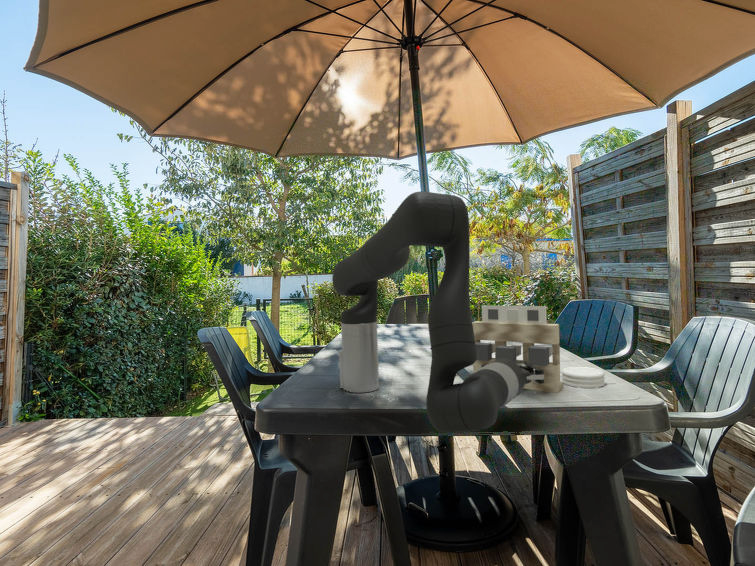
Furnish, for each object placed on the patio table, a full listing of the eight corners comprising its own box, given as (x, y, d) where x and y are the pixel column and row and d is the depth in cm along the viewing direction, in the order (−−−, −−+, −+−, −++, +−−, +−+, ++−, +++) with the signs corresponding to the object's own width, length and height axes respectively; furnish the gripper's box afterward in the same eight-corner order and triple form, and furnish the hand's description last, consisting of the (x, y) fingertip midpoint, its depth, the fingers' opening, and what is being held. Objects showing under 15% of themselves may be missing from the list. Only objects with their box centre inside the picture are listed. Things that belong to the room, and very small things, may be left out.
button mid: (496, 364, 109) (495, 347, 109) (509, 356, 117) (508, 341, 117) (512, 365, 107) (512, 348, 107) (525, 358, 115) (524, 342, 115)
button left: (472, 359, 115) (472, 344, 115) (486, 353, 123) (486, 338, 123) (487, 361, 113) (487, 345, 113) (501, 354, 121) (500, 339, 121)
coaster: (555, 385, 115) (555, 371, 115) (570, 377, 123) (570, 364, 122) (597, 391, 108) (597, 376, 108) (610, 383, 116) (610, 369, 116)
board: (473, 383, 119) (472, 322, 119) (482, 378, 124) (480, 320, 124) (557, 392, 108) (556, 325, 107) (563, 387, 112) (561, 322, 112)
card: (481, 322, 118) (481, 305, 118) (483, 322, 119) (482, 305, 118) (545, 324, 109) (545, 306, 109) (546, 324, 110) (546, 306, 109)
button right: (528, 364, 107) (528, 347, 107) (539, 357, 115) (539, 341, 115) (546, 366, 105) (545, 348, 105) (556, 358, 113) (555, 342, 113)
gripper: (534, 365, 79) (556, 349, 93) (462, 359, 86) (493, 346, 101) (535, 408, 79) (557, 386, 93) (463, 399, 86) (494, 379, 101)
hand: (524, 365), depth 97 cm, fingers closed
